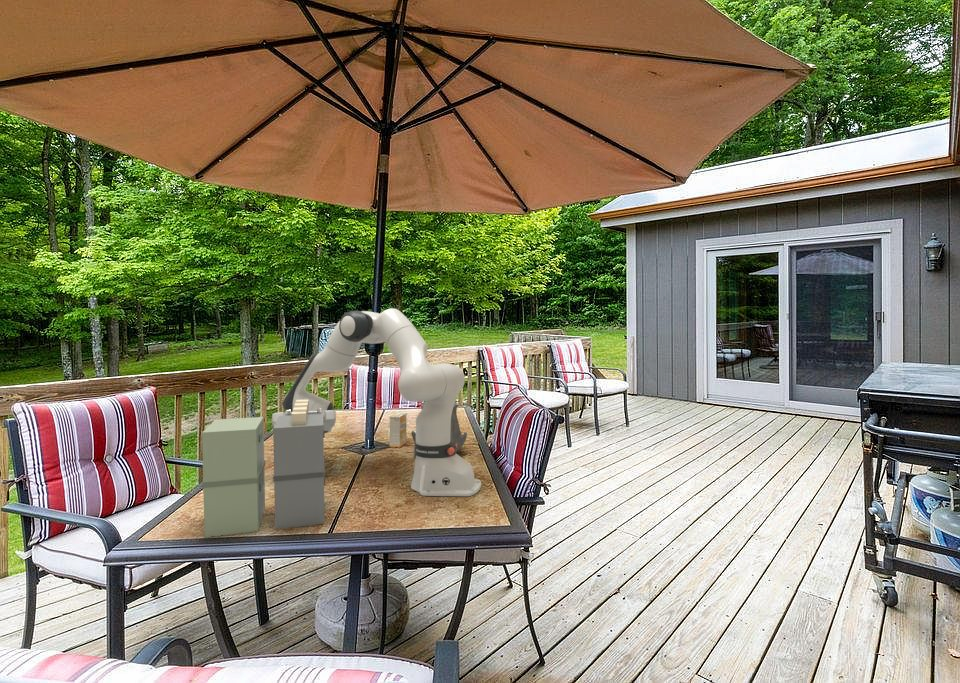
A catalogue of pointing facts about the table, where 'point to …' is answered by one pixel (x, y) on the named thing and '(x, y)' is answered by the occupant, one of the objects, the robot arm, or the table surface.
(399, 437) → the supplement box
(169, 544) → the table surface
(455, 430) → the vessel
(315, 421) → the grey crate stack
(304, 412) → the wooden bar
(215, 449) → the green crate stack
